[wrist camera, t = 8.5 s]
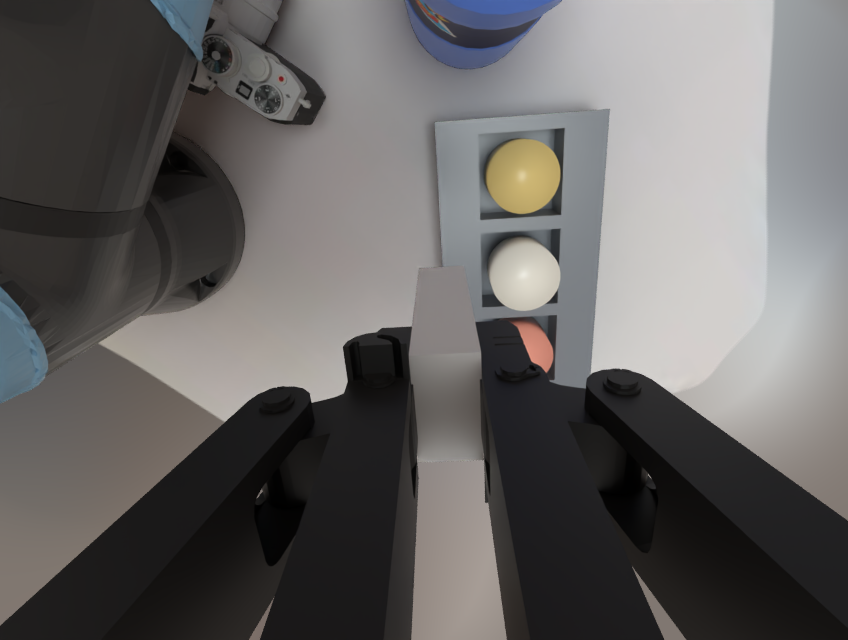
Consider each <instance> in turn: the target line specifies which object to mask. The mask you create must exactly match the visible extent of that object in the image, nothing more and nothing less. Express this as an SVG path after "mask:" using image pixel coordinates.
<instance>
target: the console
mask: <svg viewBox="0 0 848 640" xmlns="http://www.w3.org/2000/svg"><path fill="white" fill-rule="evenodd" d="M609 113H610V109H603V110H589V111H576V112H562V113H549V114H536V115H522V116H509V117H496V118H482V119H469V120H455V121H442V122H435V138H436V156H437V174H438V192H439V210H440V228H441V246H442V264H443V267H450V266H464V270H465V275H466V280H467V285H468V290H469V294H470V299H471V304H472V309H473V314H474V319H475V322H483V321H499V320H500V319H502V318H511V317H532V318H533V319H535V320H536V321H537V322H538V323H539V324H540V325H541V327H542V329H543V330H544V332H545V334H546V336H547V338H548V340H549V342H550V344H551V346H552V349H553V361H552V364H551V367H550V368H549V370H548V371H547V373H546V374H547V376H548V379H549V381H550V382H553V383H556V384H559V385H564V386H570V387H578V388H586V381H587V378H588V377H589V376H590V373H591V359H592V346H593V332H594V318H595V304H596V291H597V277H598V263H599V250H600V236H601V222H602V209H603V195H604V181H605V168H606V154H607V140H608V127H609ZM515 138H523V139H531V140H536V141H539V142H542V143H544V144H545V145H547V146H548V147H549V148H550V149H551V150H552V151H553V152H554V154H555V155H556V157H557V159H558V162H559V165H560V182H559V186H558V188H557V191H556V193H555V194H554V196H553V197H552V199H551V200H550V201H549V202H548V203H547V204H546V205H545V206H543V207H542V208H540V209H539V210H537V211H534V212H531V213H526V214H517V213H512V212H509V211H507V210H505V209H503V208H502V207H500V206H499V205H498V204H497V203H496V202H495V200H494V199H493V198H492V197H491V195H490V194H489V192H488V191H487V189H486V186H485V182H484V168H485V164H486V161H487V159H488V157H489V155H490V154H491V152H492V151H493V150H494V149H495V148H496V147H497V146H498V145H500V144H501V143H503V142H505V141H507V140H510V139H515ZM513 236H529V237H532V238H534V239H536V240H538V241H539V242H541V243H542V244H543V245H544V246H545V248H546V249H547V250H548V251H549V252H550V253H551V254H552V255H553V256H554V258H555V259H556V261H557V263H558V265H559V268H560V283H559V287H558V289H557V291H556V293H555V294H554V296H553V297H552V298H551V299H550V300H549V301H548V302H547V303H546V304H544V305H543V306H541V307H539V308H536V309H533V310H529V311H518V310H514V309H511V308H508V307H507V306H505V305H504V304H502V303H501V302H500V301H499V300H498V299H497V297H496V296H495V294H494V292H493V289H492V286H491V283H490V280H489V277H488V274H487V263H488V259H489V256H490V254H491V252H492V251H493V249H494V248H495V247H496V246H497V245H498V244H499V243H500V242H502V241H503V240H505V239H507V238H510V237H513Z"/></svg>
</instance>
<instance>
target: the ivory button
mask: <svg viewBox="0 0 848 640" xmlns="http://www.w3.org/2000/svg"><path fill="white" fill-rule="evenodd" d="M487 274H488V277H489V280H490V283H491V286H492V289H493V292H494V294H495V296H496V297H497V299H498V300H499V301H500V302H501V303H502V304H504V305H505V306H507V307H508V308H511V309H514V310H518V311H529V310H533V309H536V308H539V307H541V306H543V305H544V304H546V303H547V302H548V301H549V300H550V299H551V298H552V297H553V296H554V294H555V293H556V291H557V289H558V287H559V283H560V268H559V265H558V263H557V261H556V259H555V258H554V256H553V255H552V254H551V253H550V252H549V251H548V250H547V249H546V248H545V246H544V245H543V244H542V243H541V242H539V241H538V240H536V239H534V238H532V237H529V236H513V237H510V238H507V239H505V240H503V241H502V242H500V243H499V244H498V245H497V246H496V247H495V248H494V249H493V251H492V252H491V254H490V256H489V259H488V263H487Z"/></svg>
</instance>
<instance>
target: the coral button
mask: <svg viewBox="0 0 848 640" xmlns="http://www.w3.org/2000/svg"><path fill="white" fill-rule="evenodd" d="M501 320H507V321H509V322H510V323H512V324H514V325H515V326H517V327H518V330H519V332H520V335H521V337H522V339H523V342H524V344H525V347H526V349H527V352H528V354H529V357H530V359H531V361H532V362H533V363H535V364H537V365H539V366H541V367H542V368H543V369H544V371H545V372H546V373H547V371H548V370H549V368H550V367H551V364H552V361H553V349H552V346H551V344H550V342H549V340H548V338H547V336H546V334H545V332H544V330H543V329H542V327H541V325H540V324H539V323H538V322H537V321H536V320H535V319H533V318H532V317H511V318H502V319H500V320H499V321H501Z"/></svg>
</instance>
